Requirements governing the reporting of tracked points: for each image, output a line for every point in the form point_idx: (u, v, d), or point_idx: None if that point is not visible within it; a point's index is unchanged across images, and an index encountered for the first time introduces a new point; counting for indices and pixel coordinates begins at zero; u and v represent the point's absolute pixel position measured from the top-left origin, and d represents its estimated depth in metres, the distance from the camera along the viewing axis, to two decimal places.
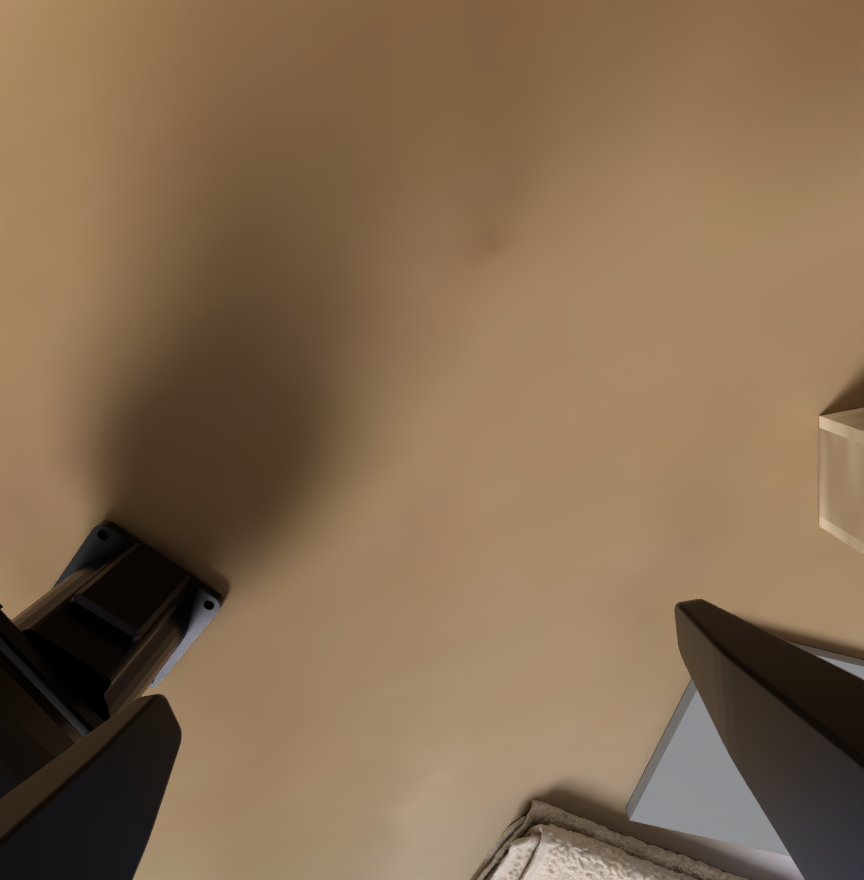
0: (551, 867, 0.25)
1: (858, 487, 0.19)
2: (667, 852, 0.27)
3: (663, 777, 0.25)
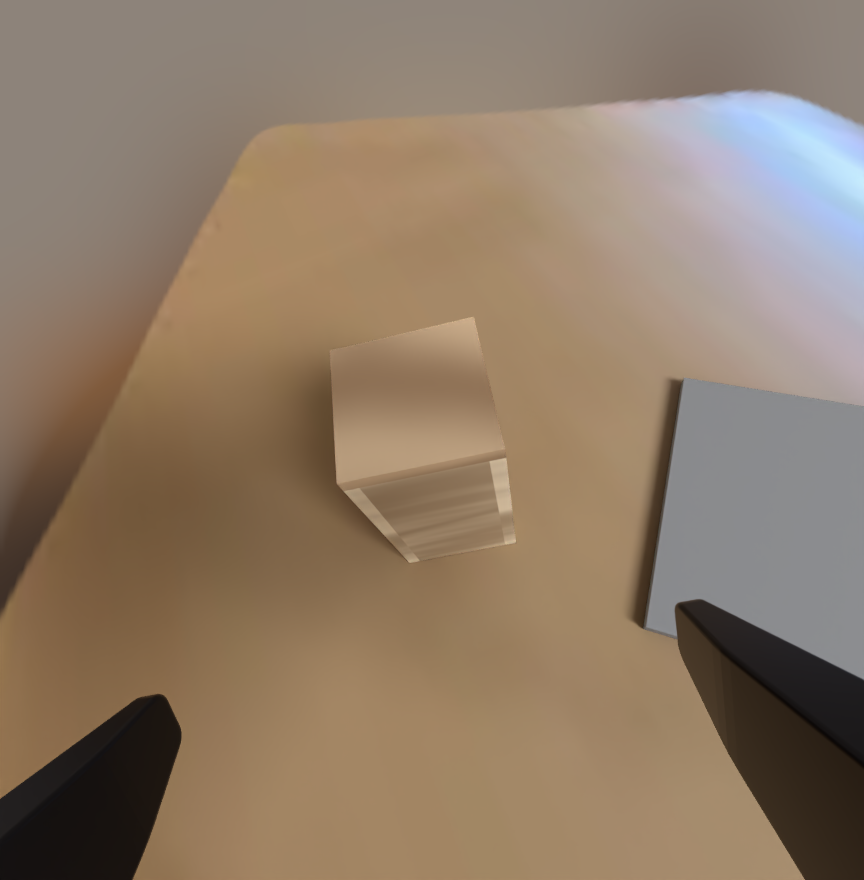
0: None
1: (451, 541, 0.21)
2: None
3: None
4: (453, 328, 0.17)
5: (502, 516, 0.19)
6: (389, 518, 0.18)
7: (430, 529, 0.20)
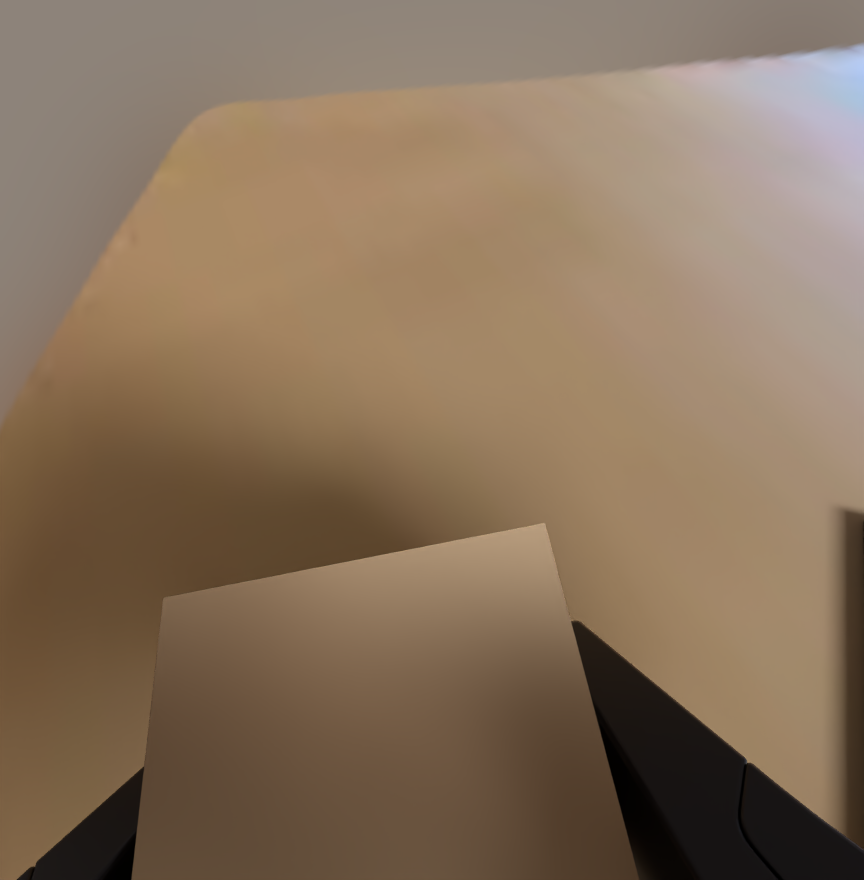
0: None
1: None
2: None
3: None
4: (491, 557, 0.06)
5: None
6: None
7: None
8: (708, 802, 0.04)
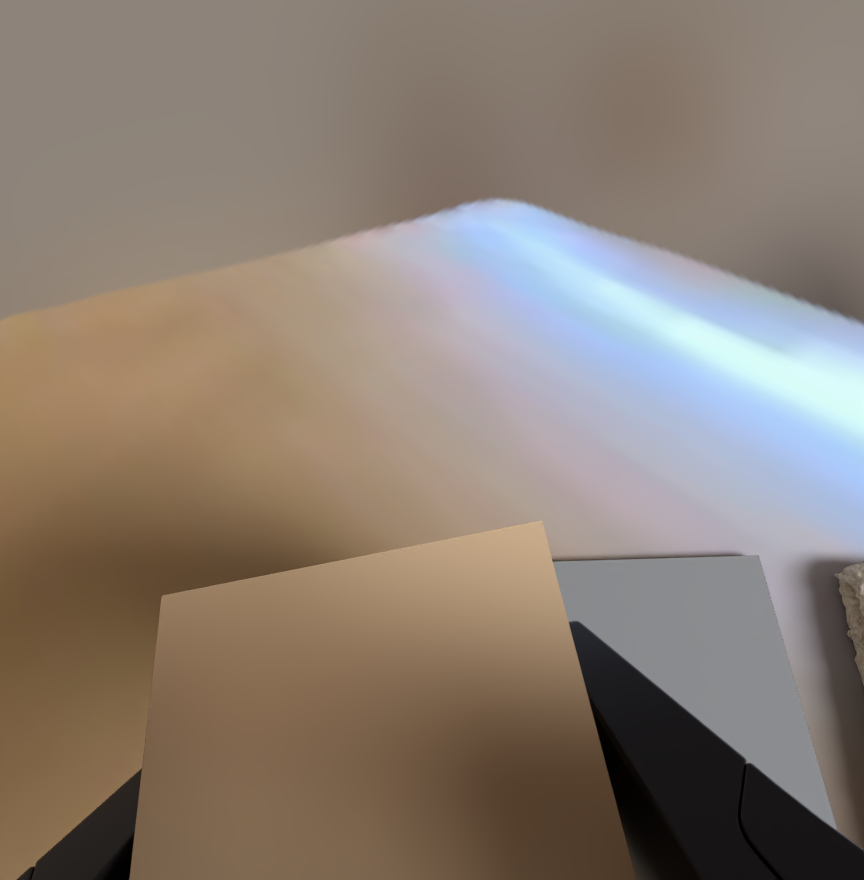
0: None
1: None
2: None
3: None
4: (488, 555, 0.06)
5: None
6: None
7: None
8: (708, 802, 0.04)
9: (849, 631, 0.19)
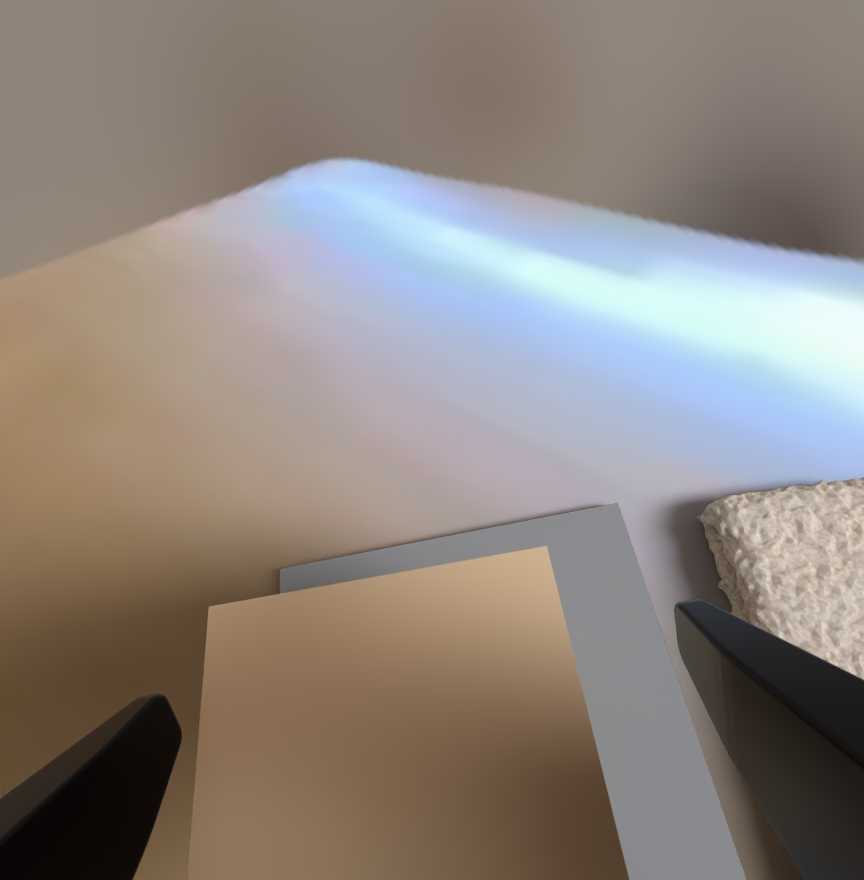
0: None
1: None
2: None
3: None
4: (499, 576, 0.07)
5: None
6: None
7: None
8: None
9: (720, 582, 0.16)
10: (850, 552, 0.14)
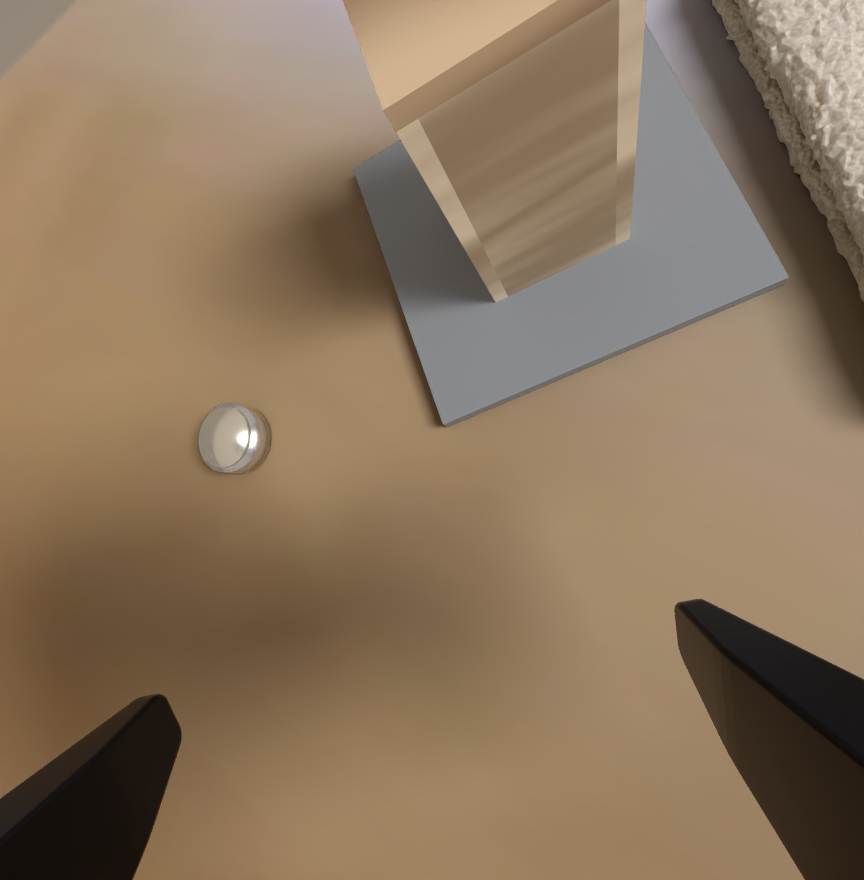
0: None
1: (547, 247, 0.16)
2: None
3: (675, 307, 0.16)
4: None
5: (620, 174, 0.14)
6: (466, 200, 0.13)
7: (521, 223, 0.14)
8: None
9: (728, 35, 0.17)
10: None
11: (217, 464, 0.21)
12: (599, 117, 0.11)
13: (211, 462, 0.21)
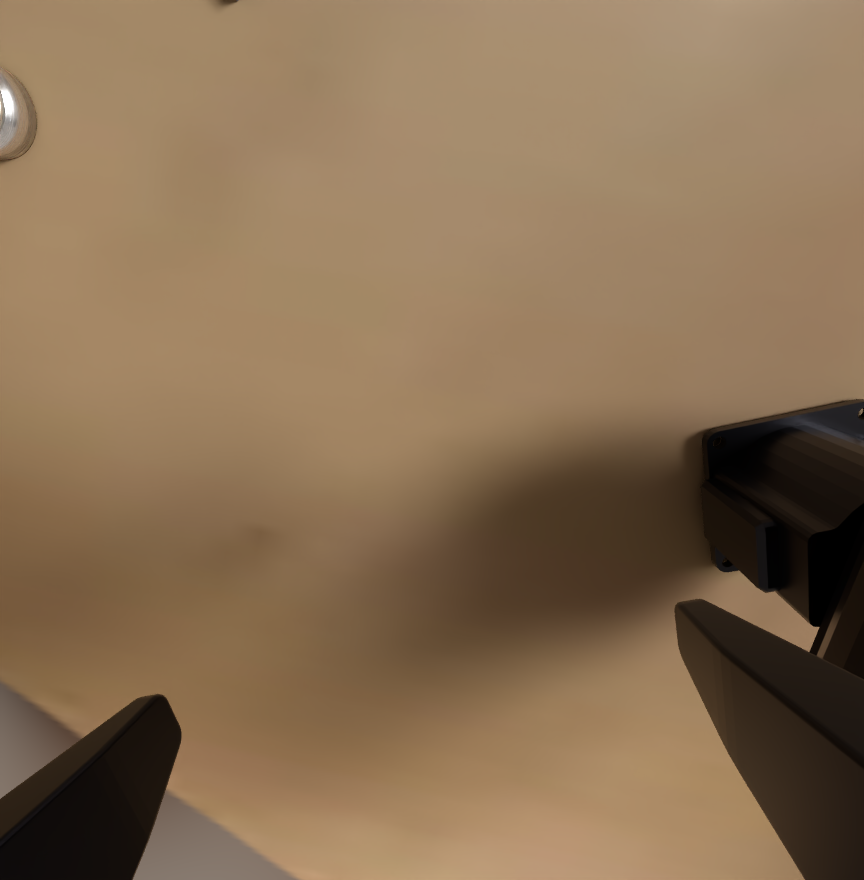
0: None
1: None
2: None
3: None
4: None
5: None
6: None
7: None
8: None
9: None
10: None
11: None
12: None
13: None
